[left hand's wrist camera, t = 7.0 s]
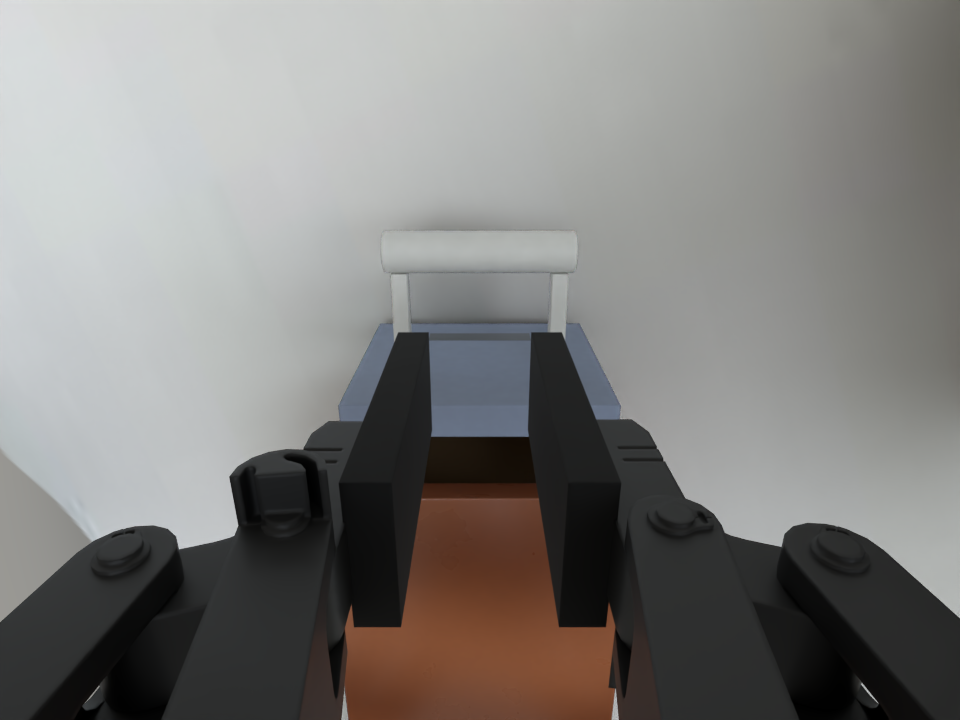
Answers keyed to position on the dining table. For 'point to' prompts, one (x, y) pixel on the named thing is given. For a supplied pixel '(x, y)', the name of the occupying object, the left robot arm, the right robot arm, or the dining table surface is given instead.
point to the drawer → (479, 351)
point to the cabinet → (479, 623)
